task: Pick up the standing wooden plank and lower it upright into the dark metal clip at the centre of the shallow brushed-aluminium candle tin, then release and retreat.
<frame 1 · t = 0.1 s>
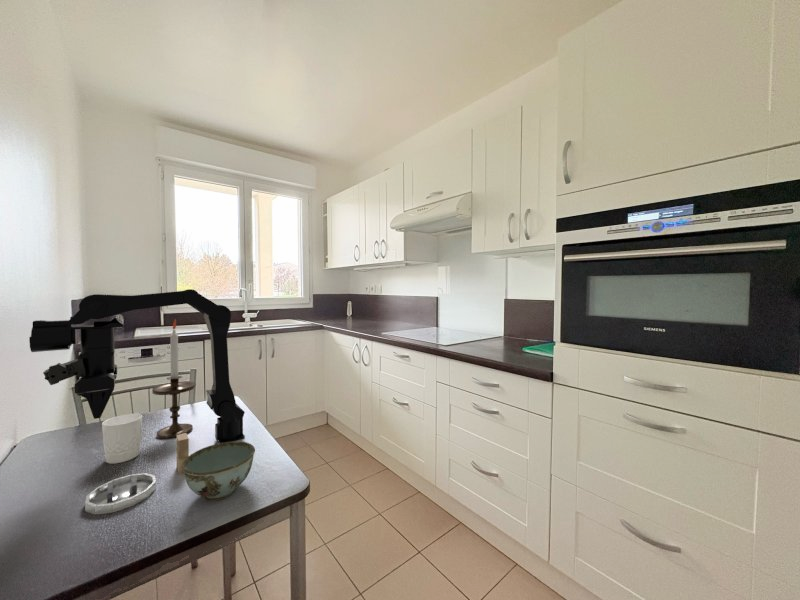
hand: (98, 412, 75), 15 cm above the table, fingers open, 9 cm apart
tin: (122, 495, 66), on the table
white cup: (123, 457, 82), on the table
bowl: (220, 492, 68), on the table
wooden plank: (182, 469, 77), on the table
candlestick: (175, 433, 97), on the table
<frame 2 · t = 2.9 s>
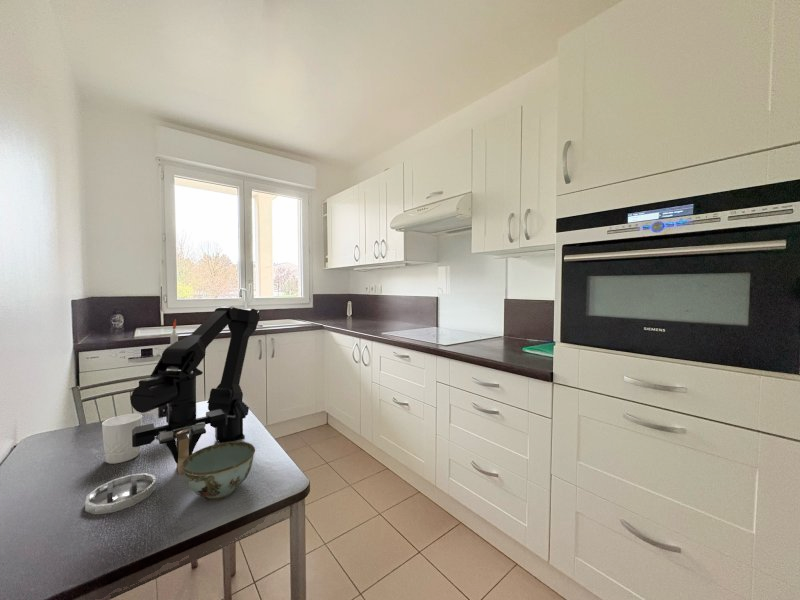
hand: (182, 460, 77), 2 cm above the table, fingers closed on wooden plank, 2 cm apart
wooden plank: (182, 469, 77), on the table, touching gripper
everything else where it was.
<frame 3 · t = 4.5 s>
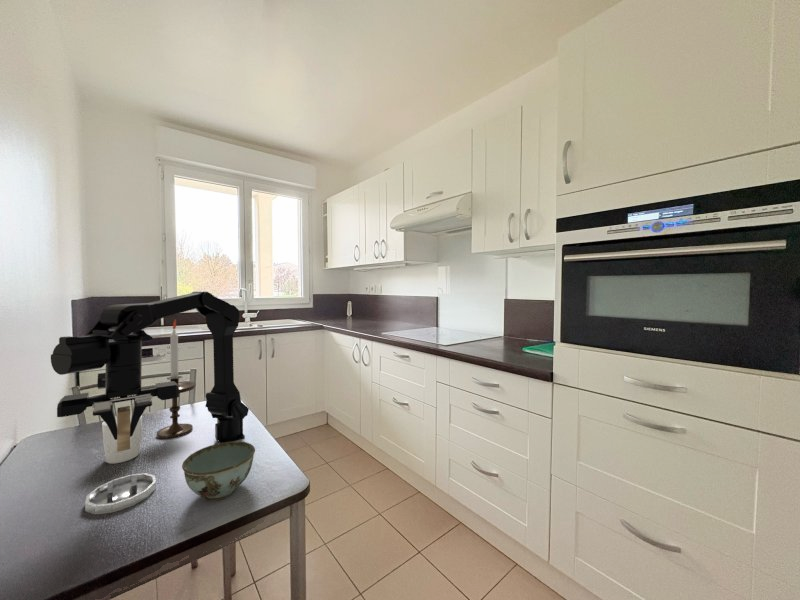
hand: (123, 437, 66), 12 cm above the table, fingers closed on wooden plank
wooden plank: (123, 447, 66), point 10 cm above the table, touching gripper
everything else where it was.
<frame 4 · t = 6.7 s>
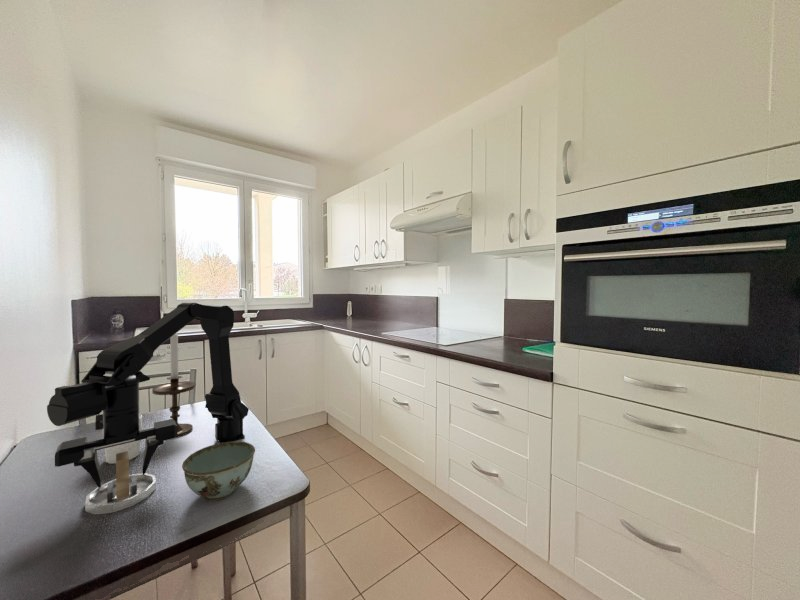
hand: (122, 479, 66), 3 cm above the table, fingers open, 7 cm apart
wooden plank: (122, 493, 66), resting on tin
everything else where it was.
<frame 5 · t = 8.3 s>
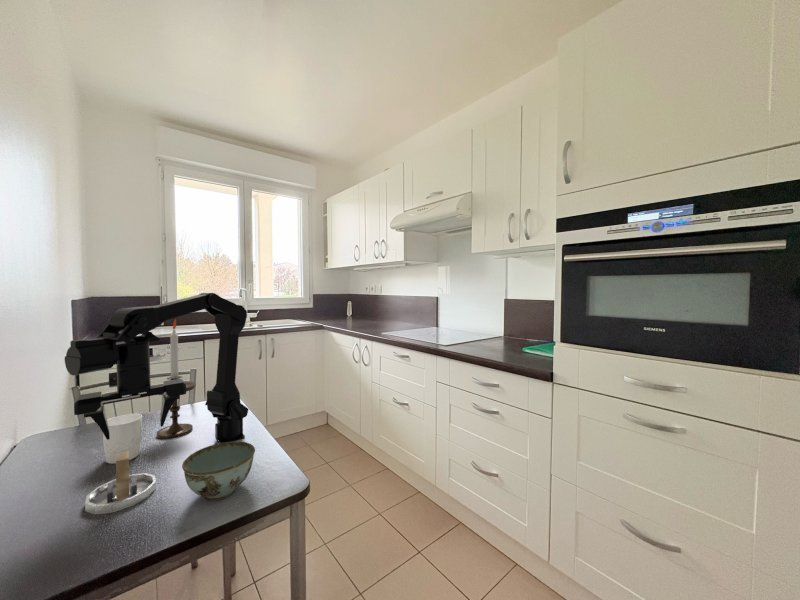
hand: (136, 432, 71), 12 cm above the table, fingers open, 9 cm apart
nothing on the table moved.
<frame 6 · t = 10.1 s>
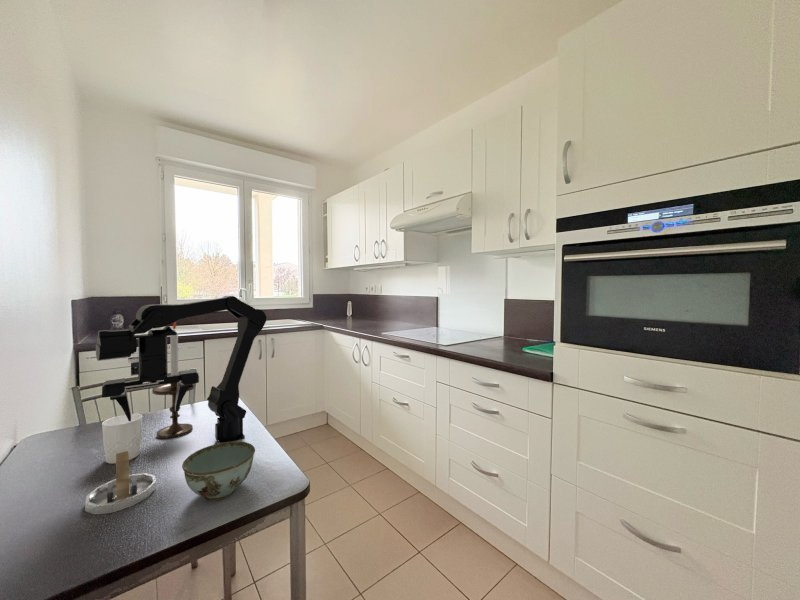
hand: (153, 415, 79), 12 cm above the table, fingers open, 9 cm apart
nothing on the table moved.
at the end: wooden plank 0.0 cm off-centre on the tin, point 0.5 cm above the tin's base; wooden plank tilted 0°; the gripper is holding nothing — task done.
